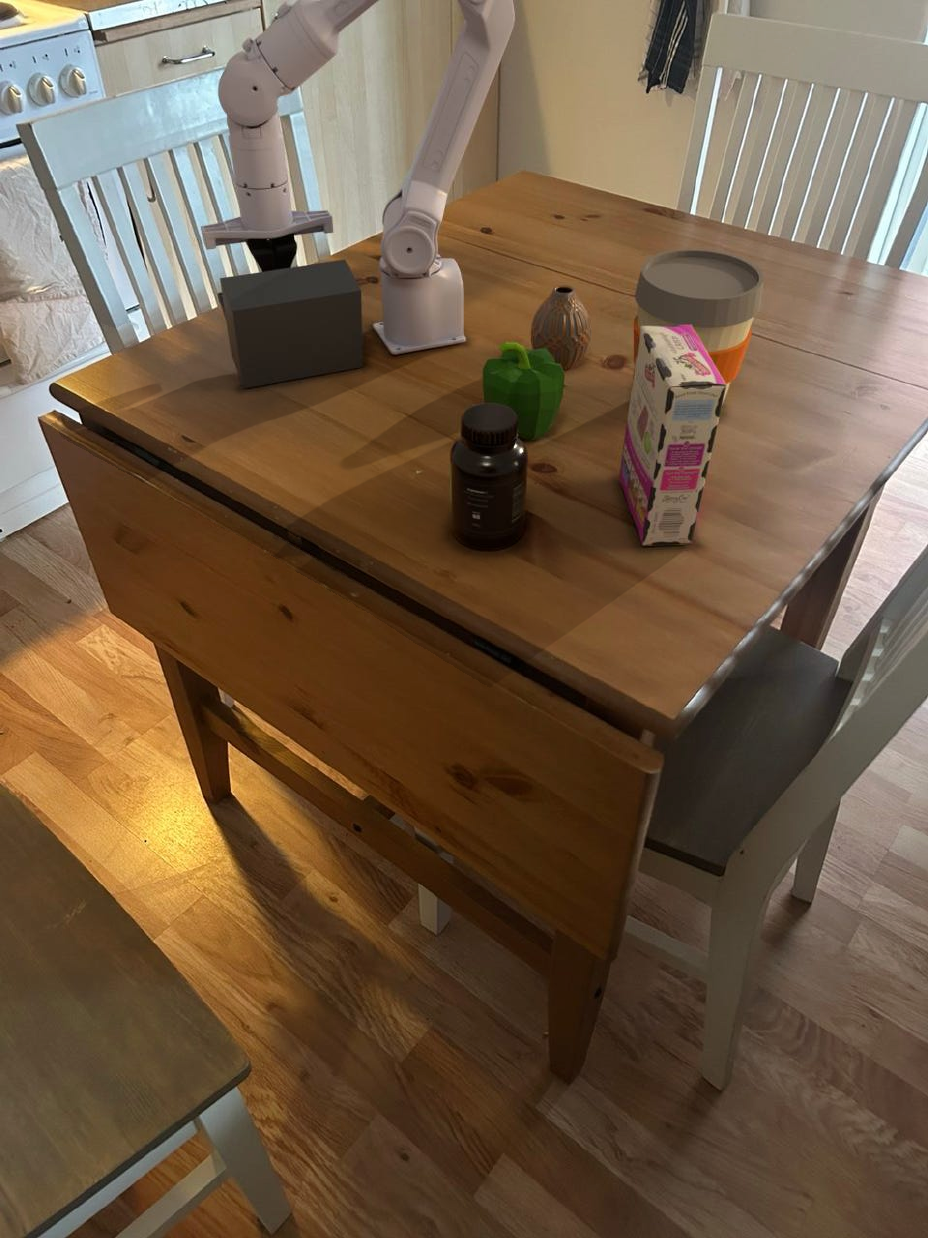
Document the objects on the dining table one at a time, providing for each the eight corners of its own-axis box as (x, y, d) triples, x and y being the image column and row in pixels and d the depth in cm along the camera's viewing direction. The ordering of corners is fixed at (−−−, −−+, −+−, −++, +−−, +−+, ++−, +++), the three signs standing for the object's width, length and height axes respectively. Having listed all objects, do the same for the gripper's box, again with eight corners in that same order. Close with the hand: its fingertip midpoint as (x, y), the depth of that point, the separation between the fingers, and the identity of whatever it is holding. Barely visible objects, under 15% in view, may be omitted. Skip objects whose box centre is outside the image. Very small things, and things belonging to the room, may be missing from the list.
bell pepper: (565, 412, 104) (572, 326, 97) (555, 453, 98) (561, 365, 92) (489, 404, 106) (491, 318, 99) (475, 444, 100) (475, 356, 93)
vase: (584, 378, 110) (591, 305, 104) (525, 372, 111) (528, 299, 105) (590, 350, 115) (597, 279, 109) (533, 344, 116) (537, 273, 110)
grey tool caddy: (361, 289, 103) (334, 237, 109) (232, 310, 100) (211, 254, 106) (363, 366, 111) (337, 314, 117) (243, 388, 108) (223, 332, 114)
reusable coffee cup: (715, 448, 99) (744, 311, 89) (603, 417, 104) (618, 283, 93) (751, 394, 107) (781, 262, 97) (645, 367, 112) (664, 239, 101)
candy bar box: (695, 545, 87) (730, 384, 76) (641, 548, 87) (668, 387, 76) (666, 476, 96) (693, 320, 84) (616, 478, 95) (637, 322, 84)
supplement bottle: (436, 536, 88) (433, 423, 80) (474, 499, 93) (475, 388, 84) (500, 561, 86) (504, 447, 77) (537, 522, 90) (544, 409, 82)
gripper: (317, 160, 109) (328, 276, 118) (188, 175, 105) (210, 293, 114) (333, 181, 104) (343, 300, 114) (199, 197, 100) (220, 319, 110)
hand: (277, 298), depth 114 cm, fingers closed, pressing on grey tool caddy
